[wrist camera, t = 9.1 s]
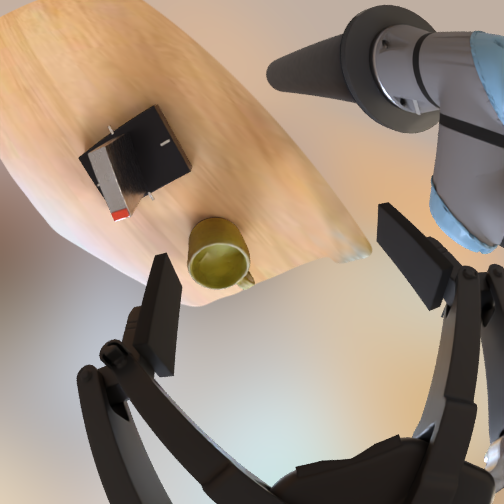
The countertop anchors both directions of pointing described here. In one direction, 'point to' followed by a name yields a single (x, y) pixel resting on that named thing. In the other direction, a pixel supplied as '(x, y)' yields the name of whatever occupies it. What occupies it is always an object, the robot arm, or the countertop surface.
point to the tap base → (149, 150)
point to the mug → (218, 255)
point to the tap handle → (119, 175)
